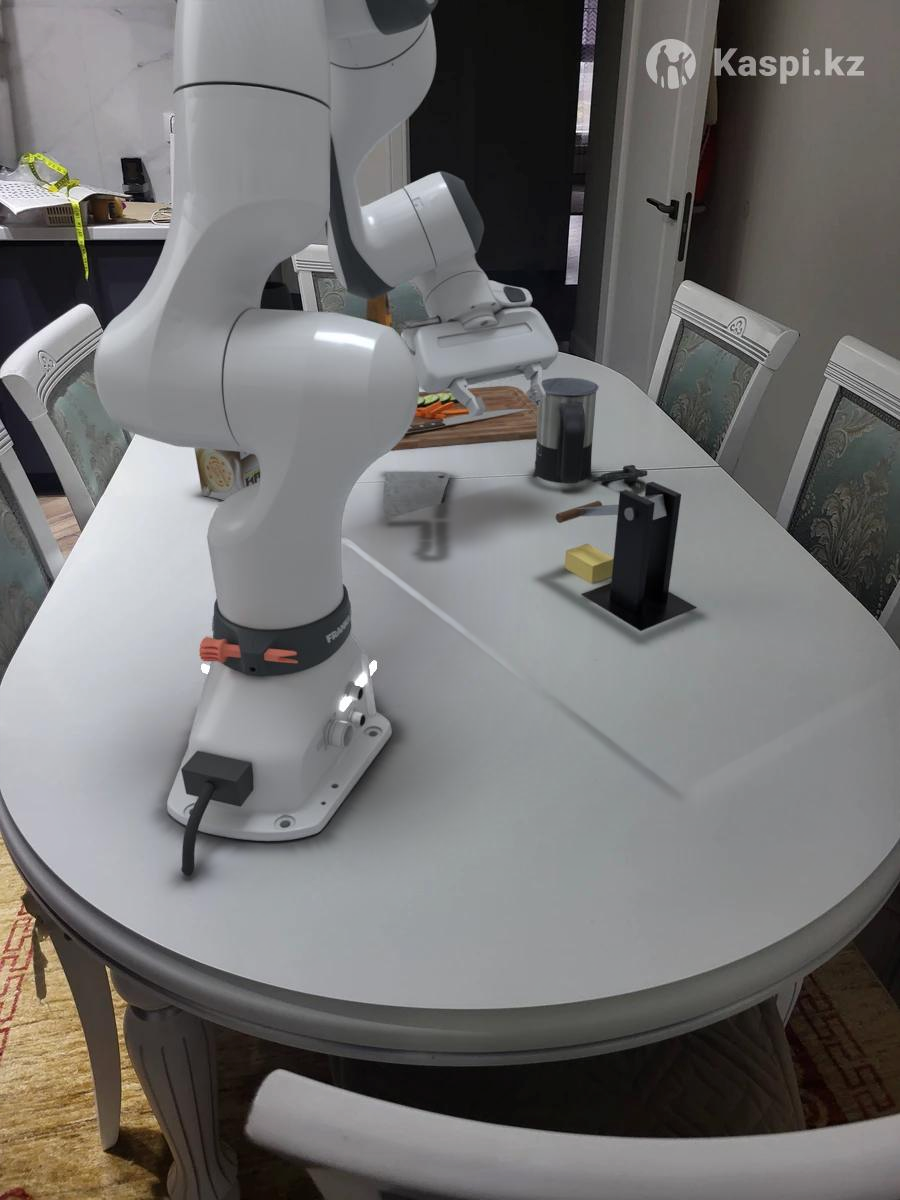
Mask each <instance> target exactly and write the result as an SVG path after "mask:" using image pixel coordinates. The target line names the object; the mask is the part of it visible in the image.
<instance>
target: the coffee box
mask: <svg viewBox="0 0 900 1200" xmlns="http://www.w3.org/2000/svg"><path fill="white" fill-rule="evenodd" d="M193 449H194V453H195V454H194V455H195V461H196V467H197V472H198V477H199V484H200V490H201V495H202V496H205V497H210V498H213V499H217V500H221V501H224V500H226V499H227V498H228V497H230V496H231V495H233V494H234V493H236V492H238V491H240V490H241V489H243V488H245V487H248V486H250V485H252V484H254V483H257V482H259V481H260V466H259V461H258V459H257V457H256V455H255V454H250V453H247V452H237V451H226V450H214V449H202V448H193Z"/></svg>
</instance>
